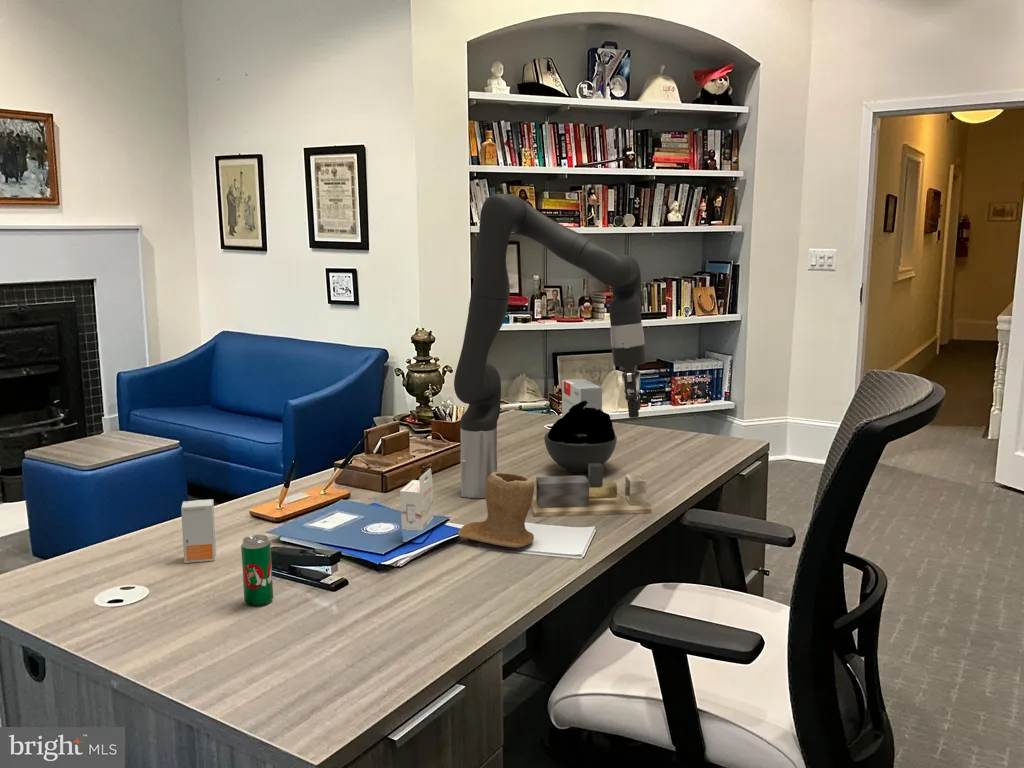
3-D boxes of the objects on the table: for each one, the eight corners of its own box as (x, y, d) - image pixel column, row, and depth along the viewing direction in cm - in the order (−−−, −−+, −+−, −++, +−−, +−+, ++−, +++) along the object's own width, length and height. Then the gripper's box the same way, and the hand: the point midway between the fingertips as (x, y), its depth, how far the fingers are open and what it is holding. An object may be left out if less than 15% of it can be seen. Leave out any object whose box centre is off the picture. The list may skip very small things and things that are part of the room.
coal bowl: (591, 486, 226) (592, 416, 222) (529, 473, 238) (530, 406, 234) (629, 469, 241) (630, 403, 238) (569, 458, 253) (570, 395, 250)
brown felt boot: (544, 538, 188) (544, 471, 185) (518, 556, 178) (518, 486, 175) (484, 526, 195) (484, 462, 192) (456, 543, 185) (455, 476, 182)
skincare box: (184, 564, 173) (180, 507, 171) (186, 556, 177) (182, 500, 175) (215, 561, 175) (212, 504, 173) (217, 553, 179) (213, 498, 177)
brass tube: (546, 502, 206) (547, 468, 204) (544, 497, 209) (545, 463, 208) (616, 500, 207) (617, 466, 206) (613, 495, 211) (614, 462, 209)
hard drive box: (560, 441, 274) (561, 379, 270) (583, 439, 276) (583, 378, 272) (578, 453, 259) (579, 388, 255) (602, 451, 261) (603, 386, 258)
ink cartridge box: (413, 529, 193) (411, 466, 191) (434, 531, 192) (433, 467, 190) (400, 542, 185) (398, 477, 182) (422, 544, 184) (421, 478, 181)
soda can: (262, 593, 159) (259, 531, 157) (279, 600, 156) (275, 537, 154) (238, 602, 155) (235, 539, 153) (255, 610, 152) (251, 545, 150)
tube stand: (534, 516, 202) (534, 487, 200) (528, 500, 213) (528, 473, 212) (651, 513, 204) (652, 484, 203) (639, 497, 216) (640, 470, 215)
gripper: (613, 342, 203) (620, 409, 205) (609, 349, 189) (616, 421, 191) (645, 339, 201) (652, 406, 203) (643, 345, 187) (650, 418, 190)
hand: (634, 413), depth 197 cm, fingers open, 8 cm apart
